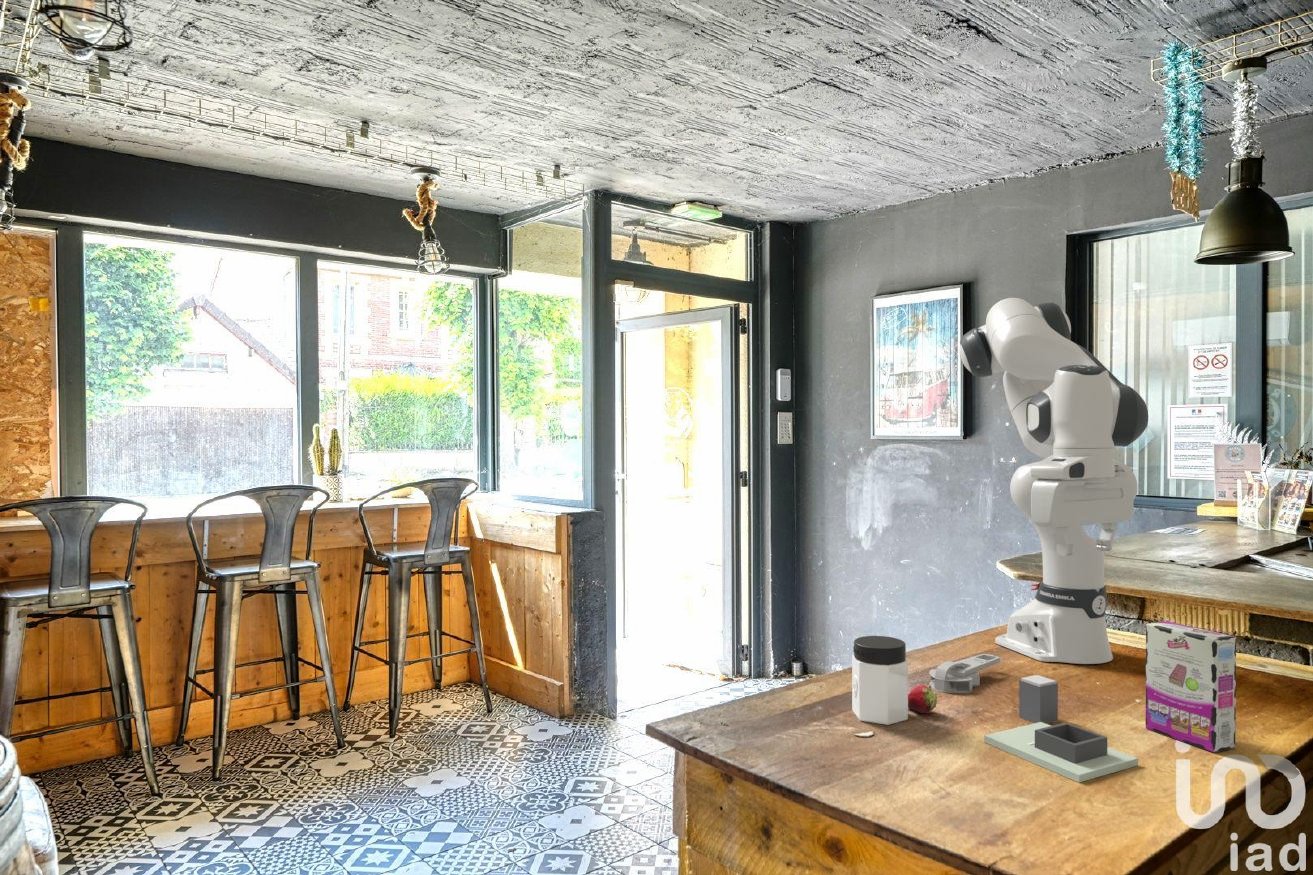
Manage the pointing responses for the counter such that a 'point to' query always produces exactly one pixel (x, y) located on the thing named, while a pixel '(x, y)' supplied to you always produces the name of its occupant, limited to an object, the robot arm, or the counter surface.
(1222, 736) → the candy bar box
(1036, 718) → the plug
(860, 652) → the jar
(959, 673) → the zipper pull
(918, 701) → the fruit
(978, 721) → the counter surface
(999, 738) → the header board
